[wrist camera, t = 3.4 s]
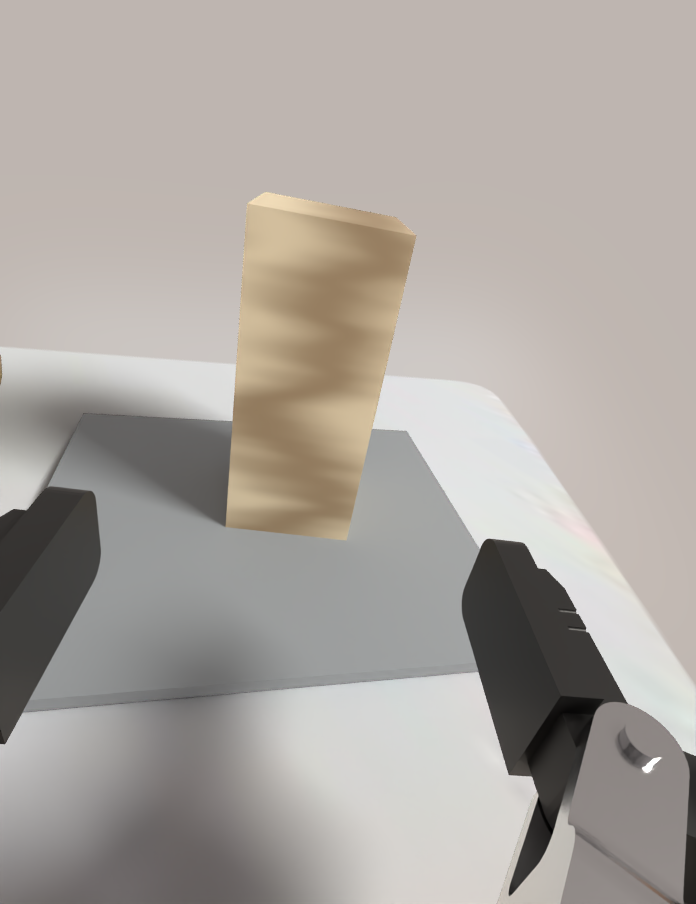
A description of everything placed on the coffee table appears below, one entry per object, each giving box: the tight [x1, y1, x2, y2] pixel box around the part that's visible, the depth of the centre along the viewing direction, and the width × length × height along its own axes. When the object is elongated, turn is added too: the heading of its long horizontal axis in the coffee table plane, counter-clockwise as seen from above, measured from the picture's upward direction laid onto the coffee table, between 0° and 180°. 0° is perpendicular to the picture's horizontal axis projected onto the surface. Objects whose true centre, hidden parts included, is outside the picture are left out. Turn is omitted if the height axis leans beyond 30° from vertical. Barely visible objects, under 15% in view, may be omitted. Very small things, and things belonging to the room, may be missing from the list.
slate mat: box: [23, 413, 480, 712], centre depth 22 cm, size 18×16×1 cm
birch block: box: [226, 192, 416, 540], centre depth 20 cm, size 5×5×12 cm
